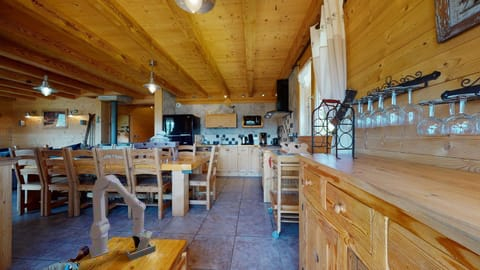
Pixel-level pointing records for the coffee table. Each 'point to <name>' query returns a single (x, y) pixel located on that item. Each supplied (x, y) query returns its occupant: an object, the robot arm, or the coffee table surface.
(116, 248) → the coffee table surface
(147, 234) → the medicine box
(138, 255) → the tray
